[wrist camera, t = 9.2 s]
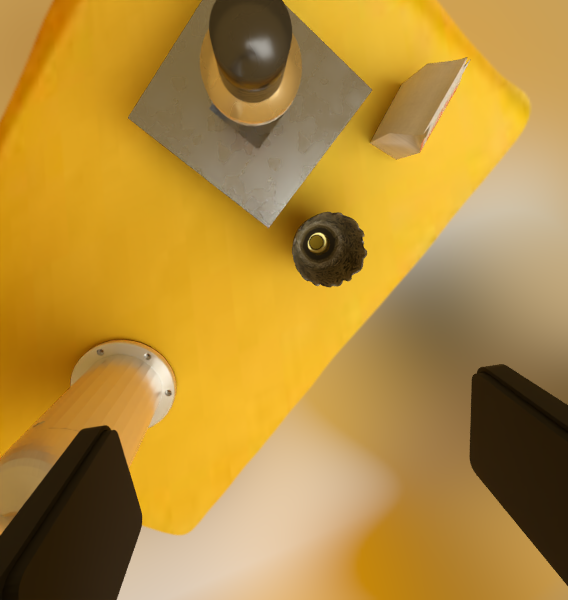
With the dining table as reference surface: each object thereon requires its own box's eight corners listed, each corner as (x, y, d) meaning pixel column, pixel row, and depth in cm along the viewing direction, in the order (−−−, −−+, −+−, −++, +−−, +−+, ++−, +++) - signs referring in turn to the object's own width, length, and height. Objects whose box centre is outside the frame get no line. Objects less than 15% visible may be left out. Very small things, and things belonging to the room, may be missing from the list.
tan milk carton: (369, 142, 40) (406, 123, 30) (401, 84, 38) (451, 44, 29) (396, 159, 40) (440, 146, 31) (428, 102, 39) (485, 70, 30)
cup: (280, 216, 41) (286, 220, 33) (341, 204, 41) (362, 205, 34) (291, 278, 43) (299, 294, 35) (350, 266, 43) (371, 279, 36)
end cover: (260, 155, 31) (263, 129, 20) (194, 100, 29) (159, 40, 18) (308, 87, 30) (340, 21, 19) (243, 26, 28) (236, -83, 17)
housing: (266, 224, 41) (268, 227, 35) (147, 130, 38) (127, 117, 32) (354, 106, 39) (372, 90, 33) (235, -6, 35) (232, -48, 29)
